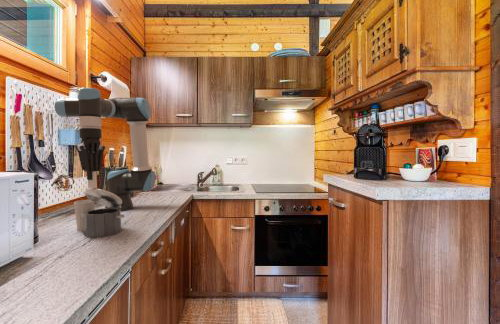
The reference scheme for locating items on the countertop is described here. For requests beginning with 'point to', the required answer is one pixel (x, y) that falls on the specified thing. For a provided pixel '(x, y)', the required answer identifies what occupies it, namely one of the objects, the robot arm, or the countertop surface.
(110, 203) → the lid
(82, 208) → the cup
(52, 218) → the countertop surface
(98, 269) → the countertop surface
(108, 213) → the pot
